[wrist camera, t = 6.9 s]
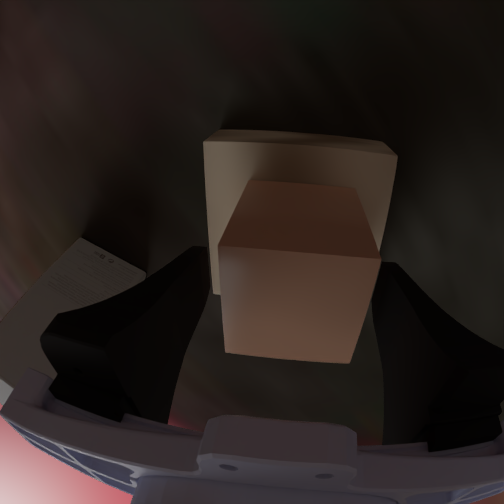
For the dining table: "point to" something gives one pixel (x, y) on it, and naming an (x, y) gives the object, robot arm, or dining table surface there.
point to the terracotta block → (296, 272)
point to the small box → (58, 306)
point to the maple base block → (293, 173)
